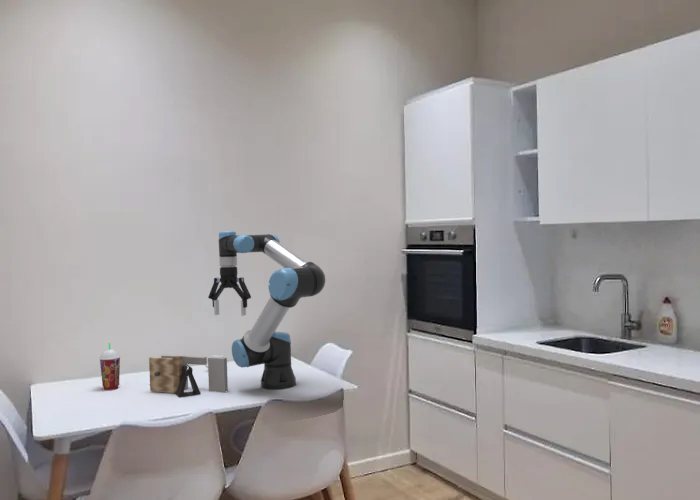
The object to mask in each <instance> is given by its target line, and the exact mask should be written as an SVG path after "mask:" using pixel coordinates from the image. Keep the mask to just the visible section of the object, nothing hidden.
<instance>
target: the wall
mask: <svg viewBox="0 0 700 500" xmlns="http://www.w3.org/2000/svg"><path fill="white" fill-rule="evenodd" d="M160 356H161V357H160V358H173V357H174V356H178V355H177V354H176V355H175V354H174V355H170V354H169V355H168V354H162V355H160ZM181 356H182V366H183V365H186V366H187V365H202V366H205V364H207V366H208V368H207V371H208V373H207V374H208V391H209V392H215V391H216V393H217V392H218V393H226V391H227V392H229V388H228V387H229V385H228V384H229V383H228V358H227V357H224V358H218V357H210V358H208V357H207V356H197V355H196V356H194V355H181ZM207 359H208V361H207ZM187 367H188V366H187ZM187 370H188V368H187V369H186V371H187ZM187 389H189V377H188V376H187V381H186V385H185V390H187Z"/></svg>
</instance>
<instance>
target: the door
mask: <svg viewBox="0 0 700 500" xmlns="http://www.w3.org/2000/svg"><path fill="white" fill-rule="evenodd" d="M182 356H183V355H177V356H174V357H173V358H161V357H155V356H154V357H153V356H152V357H149V358H148V364H149V366H148V367H149V387H150V388H149V390H150V392H160V393H161V392H162V393H163V392H164V393H174V394H176V391H177V388H178V386H179V384H180V380H181V375H182Z"/></svg>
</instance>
